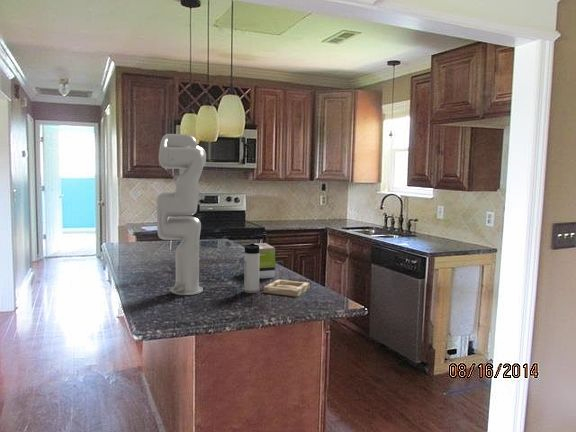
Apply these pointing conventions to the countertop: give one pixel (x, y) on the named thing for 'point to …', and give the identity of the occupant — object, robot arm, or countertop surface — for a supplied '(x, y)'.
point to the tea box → (266, 261)
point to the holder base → (287, 287)
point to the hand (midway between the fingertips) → (187, 213)
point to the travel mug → (251, 268)
